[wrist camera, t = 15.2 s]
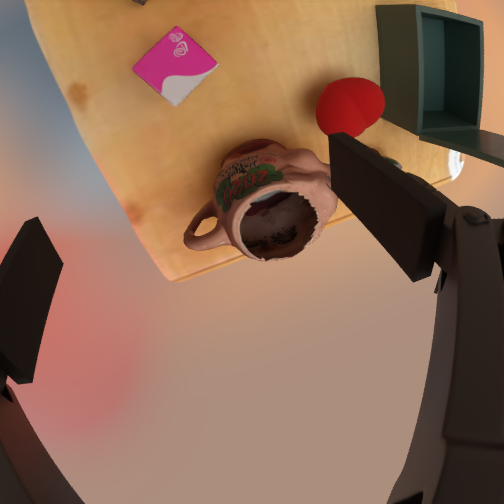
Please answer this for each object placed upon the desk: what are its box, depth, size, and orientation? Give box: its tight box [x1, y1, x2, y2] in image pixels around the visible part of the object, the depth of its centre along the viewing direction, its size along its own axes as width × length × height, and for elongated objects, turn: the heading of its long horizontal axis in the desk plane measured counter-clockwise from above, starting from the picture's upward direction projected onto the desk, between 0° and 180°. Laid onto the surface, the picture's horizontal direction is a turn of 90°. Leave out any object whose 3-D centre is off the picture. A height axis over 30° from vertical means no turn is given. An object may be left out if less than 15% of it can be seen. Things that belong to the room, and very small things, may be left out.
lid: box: [419, 130, 504, 168], centre depth 30 cm, size 19×14×8 cm
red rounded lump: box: [316, 78, 385, 138], centre depth 36 cm, size 9×7×10 cm
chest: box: [376, 4, 484, 136], centre depth 35 cm, size 18×14×9 cm
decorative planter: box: [184, 139, 338, 261], centre depth 39 cm, size 20×12×14 cm, turn 116°
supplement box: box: [132, 26, 219, 107], centre depth 29 cm, size 6×6×12 cm
